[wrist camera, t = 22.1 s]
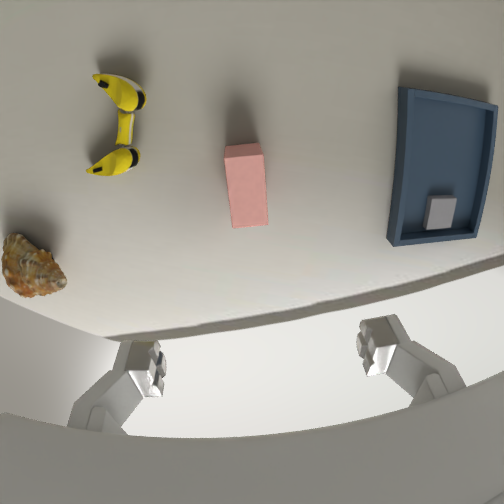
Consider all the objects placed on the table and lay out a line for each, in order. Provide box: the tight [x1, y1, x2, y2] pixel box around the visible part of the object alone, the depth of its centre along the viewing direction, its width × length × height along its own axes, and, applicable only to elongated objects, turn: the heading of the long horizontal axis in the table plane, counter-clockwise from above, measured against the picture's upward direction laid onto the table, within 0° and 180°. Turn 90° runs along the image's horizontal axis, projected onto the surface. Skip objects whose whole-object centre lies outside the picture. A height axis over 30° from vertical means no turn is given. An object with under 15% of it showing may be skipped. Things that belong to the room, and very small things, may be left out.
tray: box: [387, 87, 498, 247], centre depth 29 cm, size 14×18×2 cm
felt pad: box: [423, 195, 457, 230], centre depth 32 cm, size 4×4×1 cm
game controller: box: [86, 74, 146, 176], centre depth 25 cm, size 10×6×4 cm, turn 169°
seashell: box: [1, 233, 67, 298], centre depth 31 cm, size 9×8×10 cm
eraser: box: [224, 143, 268, 228], centre depth 28 cm, size 3×6×5 cm, turn 5°
